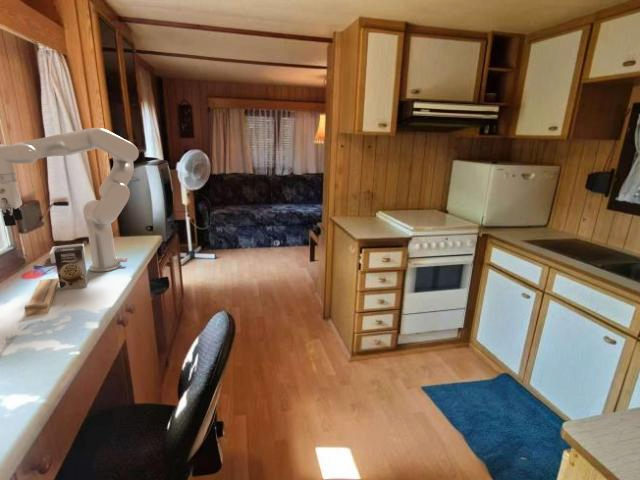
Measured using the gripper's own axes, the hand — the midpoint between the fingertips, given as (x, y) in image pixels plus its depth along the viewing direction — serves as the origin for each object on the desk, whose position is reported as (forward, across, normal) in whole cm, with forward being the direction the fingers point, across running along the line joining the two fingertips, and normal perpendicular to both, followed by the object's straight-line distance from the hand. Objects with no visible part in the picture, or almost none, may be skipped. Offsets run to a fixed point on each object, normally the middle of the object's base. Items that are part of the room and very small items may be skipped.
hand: (14, 222), depth 138 cm
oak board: (+26, -17, -8) cm, 32 cm away
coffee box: (+27, -9, -17) cm, 33 cm away
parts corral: (+27, +32, -9) cm, 43 cm away
